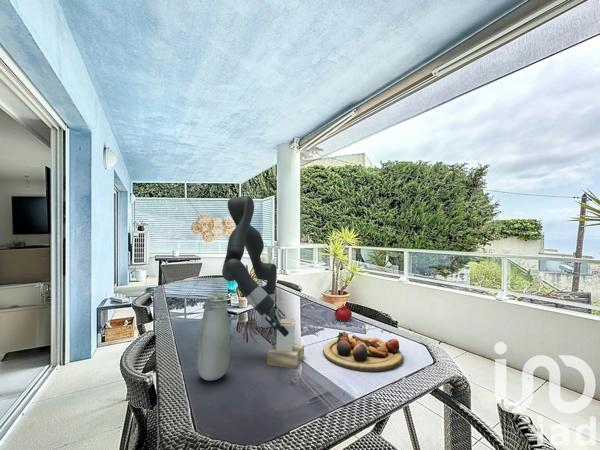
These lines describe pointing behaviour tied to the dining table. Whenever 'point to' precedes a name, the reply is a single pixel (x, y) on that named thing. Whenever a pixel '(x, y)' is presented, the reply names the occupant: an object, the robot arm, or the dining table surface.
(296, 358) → the pale gold metal block
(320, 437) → the dining table surface
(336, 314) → the pomegranate
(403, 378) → the dining table surface
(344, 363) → the wooden plate with food
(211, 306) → the glass bottle
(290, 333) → the white square container
